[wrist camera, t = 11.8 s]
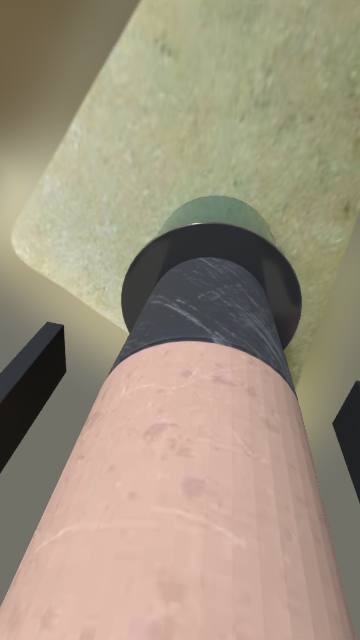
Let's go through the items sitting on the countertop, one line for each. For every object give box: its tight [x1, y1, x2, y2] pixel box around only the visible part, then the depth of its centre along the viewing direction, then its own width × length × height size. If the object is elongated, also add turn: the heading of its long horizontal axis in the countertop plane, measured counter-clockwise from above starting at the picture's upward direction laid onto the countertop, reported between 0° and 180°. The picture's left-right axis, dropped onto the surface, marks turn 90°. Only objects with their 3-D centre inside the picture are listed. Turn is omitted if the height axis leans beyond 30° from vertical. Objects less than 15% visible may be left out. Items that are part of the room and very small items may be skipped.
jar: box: [121, 196, 302, 350], centre depth 24 cm, size 11×11×10 cm
